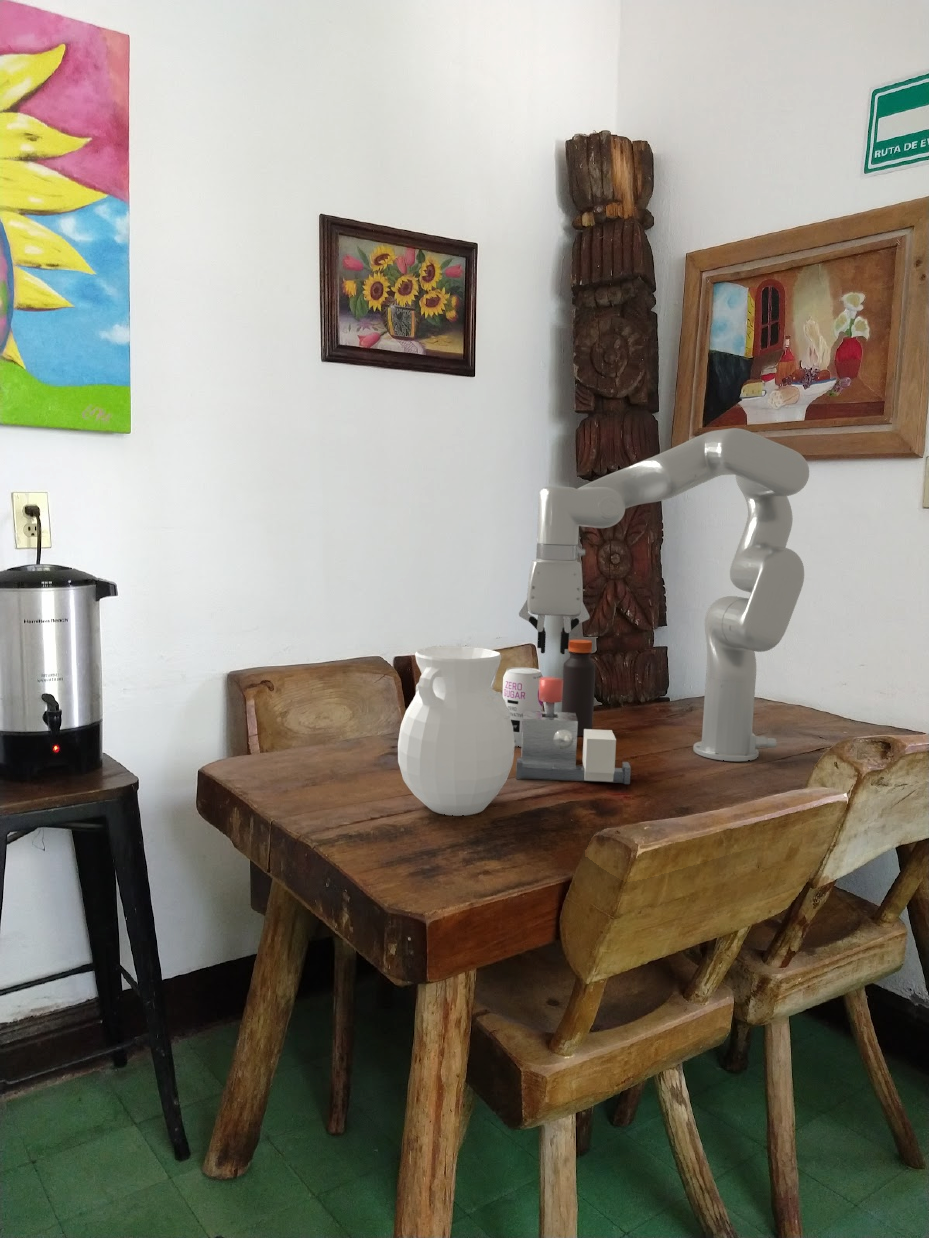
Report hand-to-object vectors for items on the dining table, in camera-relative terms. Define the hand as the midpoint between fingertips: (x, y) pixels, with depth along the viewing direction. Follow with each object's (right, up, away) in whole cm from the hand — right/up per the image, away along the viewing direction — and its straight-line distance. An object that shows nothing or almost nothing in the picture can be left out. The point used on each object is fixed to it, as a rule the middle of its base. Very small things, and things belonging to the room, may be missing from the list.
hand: (552, 651), depth 172 cm
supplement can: (-5, -19, +17) cm, 26 cm away
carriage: (+7, -23, -8) cm, 25 cm away
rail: (+3, -22, -8) cm, 24 cm away
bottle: (+8, -19, +26) cm, 33 cm away
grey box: (-1, -21, +3) cm, 21 cm away
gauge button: (0, -12, +1) cm, 12 cm away
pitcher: (-18, -24, -24) cm, 39 cm away
